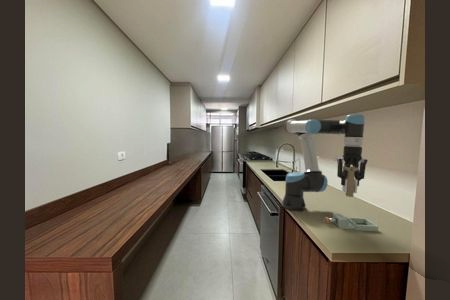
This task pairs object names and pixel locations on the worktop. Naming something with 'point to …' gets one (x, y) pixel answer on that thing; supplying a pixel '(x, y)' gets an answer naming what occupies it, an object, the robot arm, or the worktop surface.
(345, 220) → the dock
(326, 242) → the worktop surface
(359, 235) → the worktop surface
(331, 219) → the lock pin
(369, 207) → the worktop surface
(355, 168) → the handle
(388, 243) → the worktop surface
